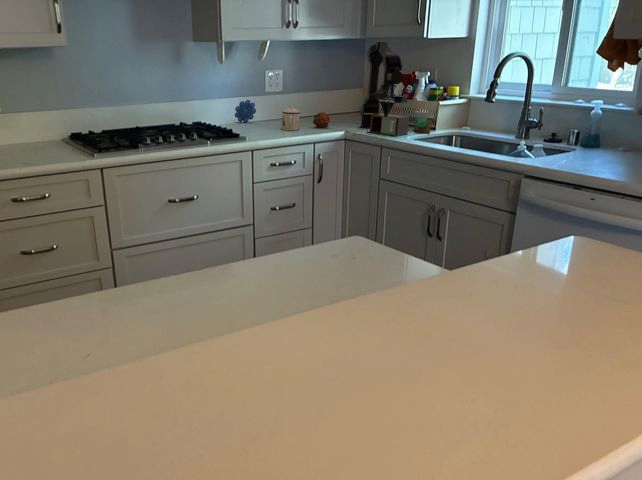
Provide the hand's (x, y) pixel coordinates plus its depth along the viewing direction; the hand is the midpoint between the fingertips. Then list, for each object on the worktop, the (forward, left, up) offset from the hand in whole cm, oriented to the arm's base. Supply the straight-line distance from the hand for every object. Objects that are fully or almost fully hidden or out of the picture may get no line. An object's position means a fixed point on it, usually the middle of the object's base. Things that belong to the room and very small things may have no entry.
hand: (385, 116), depth 300 cm
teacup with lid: (-41, -24, -9) cm, 48 cm away
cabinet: (-3, +7, -9) cm, 12 cm away
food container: (+5, +24, -9) cm, 27 cm away
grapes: (-73, -24, -9) cm, 77 cm away
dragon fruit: (-37, -4, -9) cm, 38 cm away
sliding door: (+1, +1, -8) cm, 9 cm away
